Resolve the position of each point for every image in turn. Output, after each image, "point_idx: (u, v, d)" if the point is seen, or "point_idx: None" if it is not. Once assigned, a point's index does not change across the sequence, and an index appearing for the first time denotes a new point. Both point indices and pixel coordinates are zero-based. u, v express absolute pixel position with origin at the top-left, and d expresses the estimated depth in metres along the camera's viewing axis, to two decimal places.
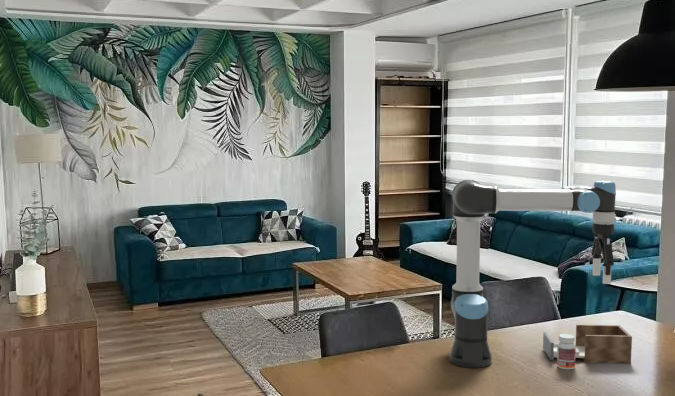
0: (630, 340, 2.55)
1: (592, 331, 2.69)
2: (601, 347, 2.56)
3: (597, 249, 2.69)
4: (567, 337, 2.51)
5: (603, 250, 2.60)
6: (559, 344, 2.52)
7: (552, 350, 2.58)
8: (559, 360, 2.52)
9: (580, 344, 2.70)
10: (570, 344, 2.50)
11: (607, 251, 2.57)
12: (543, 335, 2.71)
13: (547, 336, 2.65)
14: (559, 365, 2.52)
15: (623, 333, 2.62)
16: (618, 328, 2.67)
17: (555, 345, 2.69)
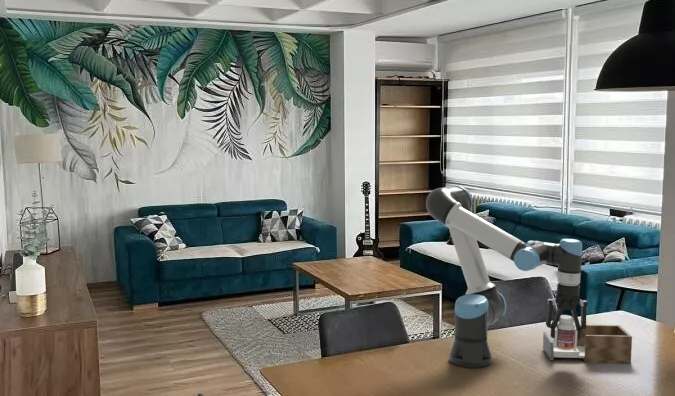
0: (630, 340, 2.55)
1: (592, 331, 2.69)
2: (601, 347, 2.56)
3: None
4: (567, 318, 2.50)
5: (556, 311, 2.52)
6: (558, 325, 2.51)
7: (552, 350, 2.58)
8: (557, 341, 2.51)
9: (580, 344, 2.70)
10: (569, 325, 2.50)
11: (547, 312, 2.52)
12: (543, 335, 2.71)
13: (547, 336, 2.65)
14: (557, 346, 2.51)
15: (623, 333, 2.62)
16: (618, 328, 2.67)
17: None
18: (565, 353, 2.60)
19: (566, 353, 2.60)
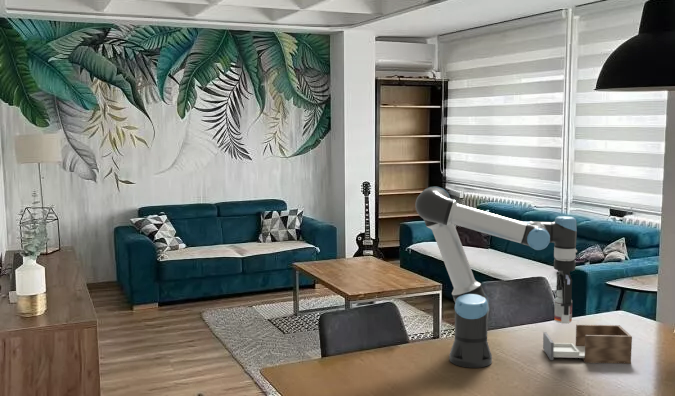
0: (630, 340, 2.55)
1: (592, 331, 2.69)
2: (601, 347, 2.56)
3: (560, 288, 2.65)
4: None
5: (563, 289, 2.59)
6: None
7: (552, 350, 2.58)
8: None
9: (580, 344, 2.70)
10: None
11: (566, 292, 2.56)
12: (543, 335, 2.71)
13: (547, 336, 2.65)
14: None
15: (623, 333, 2.62)
16: (618, 328, 2.67)
17: (555, 345, 2.69)
18: (565, 353, 2.60)
19: (566, 353, 2.60)
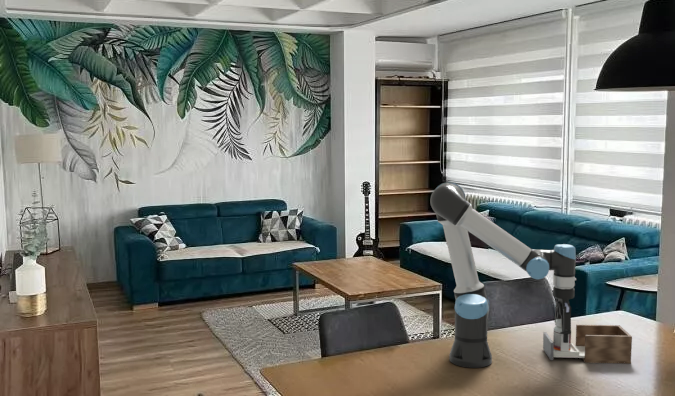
0: (630, 340, 2.55)
1: (592, 331, 2.69)
2: (601, 347, 2.56)
3: (559, 315, 2.66)
4: None
5: (562, 316, 2.60)
6: None
7: (552, 350, 2.58)
8: None
9: (580, 344, 2.70)
10: None
11: (565, 320, 2.57)
12: (543, 335, 2.71)
13: (547, 336, 2.65)
14: None
15: (623, 333, 2.62)
16: (618, 328, 2.67)
17: None
18: (565, 353, 2.60)
19: (566, 353, 2.60)
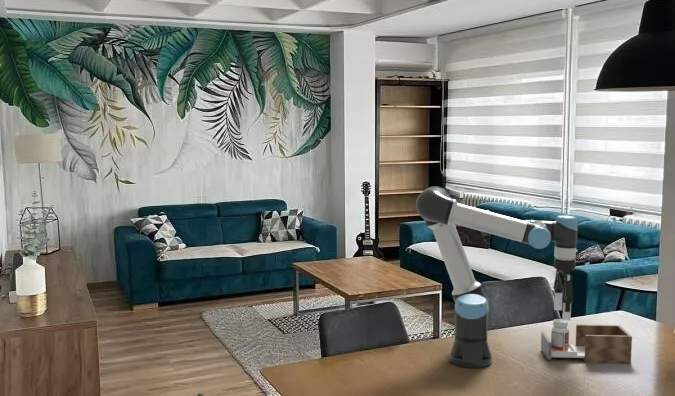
0: (630, 340, 2.55)
1: (592, 331, 2.69)
2: (601, 347, 2.56)
3: (558, 284, 2.66)
4: (564, 321, 2.63)
5: (563, 286, 2.57)
6: (564, 330, 2.61)
7: (550, 350, 2.59)
8: (565, 345, 2.62)
9: (580, 344, 2.70)
10: None
11: (567, 288, 2.54)
12: (541, 335, 2.71)
13: (545, 336, 2.66)
14: (565, 349, 2.62)
15: (623, 333, 2.62)
16: (618, 328, 2.67)
17: None
18: (563, 353, 2.60)
19: (564, 353, 2.60)
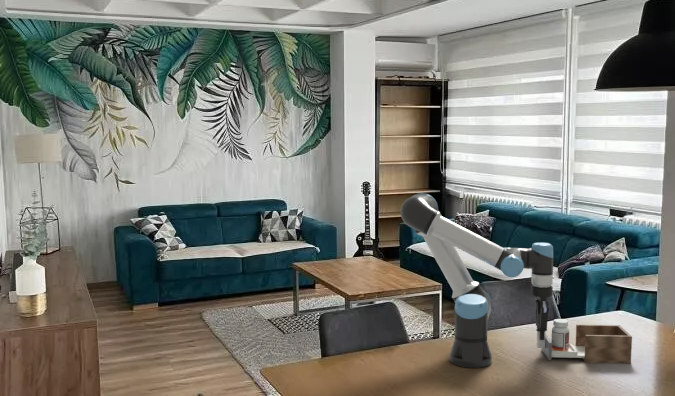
0: (630, 340, 2.55)
1: (592, 331, 2.69)
2: (601, 347, 2.56)
3: (539, 315, 2.65)
4: (564, 321, 2.63)
5: (539, 315, 2.62)
6: (564, 330, 2.61)
7: (550, 350, 2.59)
8: (565, 345, 2.62)
9: (580, 344, 2.70)
10: None
11: (542, 319, 2.59)
12: None
13: (545, 336, 2.66)
14: (565, 350, 2.62)
15: (623, 333, 2.62)
16: (618, 328, 2.67)
17: None
18: (563, 353, 2.60)
19: (564, 353, 2.60)
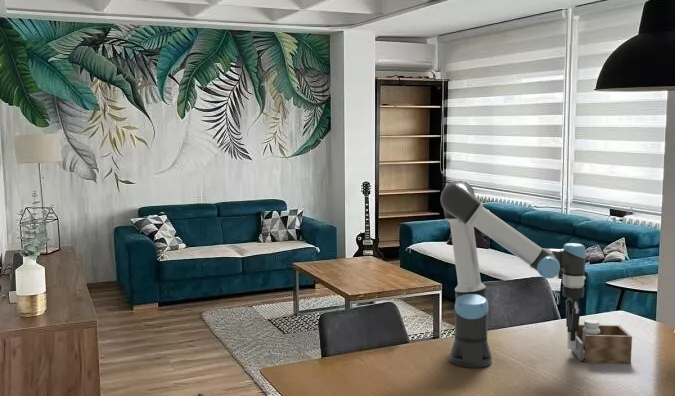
0: (630, 340, 2.55)
1: None
2: (601, 347, 2.56)
3: (570, 316, 2.64)
4: (595, 321, 2.62)
5: (571, 316, 2.61)
6: (595, 330, 2.60)
7: (582, 351, 2.58)
8: None
9: None
10: None
11: (574, 320, 2.58)
12: None
13: (576, 337, 2.65)
14: None
15: (623, 333, 2.62)
16: (618, 328, 2.67)
17: None
18: None
19: None
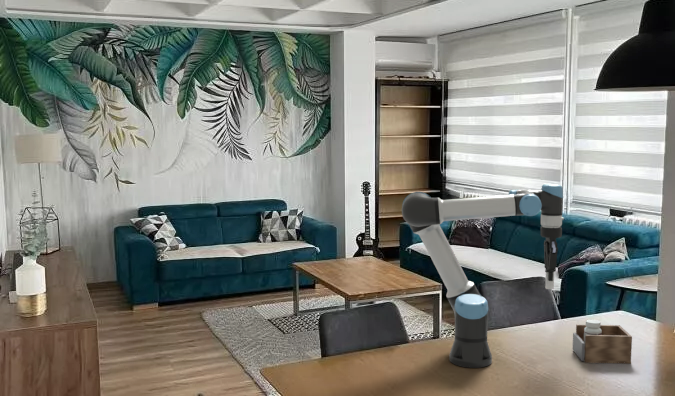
0: (630, 340, 2.55)
1: None
2: (601, 347, 2.56)
3: (548, 256, 2.66)
4: (597, 321, 2.62)
5: (548, 256, 2.63)
6: (597, 331, 2.60)
7: (583, 351, 2.58)
8: None
9: None
10: None
11: (551, 259, 2.61)
12: (573, 336, 2.70)
13: (577, 337, 2.65)
14: None
15: (623, 333, 2.62)
16: (618, 328, 2.67)
17: None
18: None
19: None
